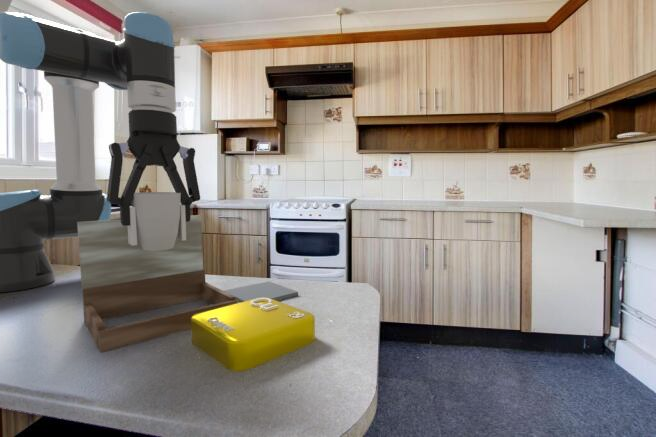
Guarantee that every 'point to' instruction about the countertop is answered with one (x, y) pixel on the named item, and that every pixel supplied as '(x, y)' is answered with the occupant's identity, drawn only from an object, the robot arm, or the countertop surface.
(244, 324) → the element tile
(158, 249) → the cup
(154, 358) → the countertop surface
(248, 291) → the slate mat
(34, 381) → the countertop surface
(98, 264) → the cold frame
